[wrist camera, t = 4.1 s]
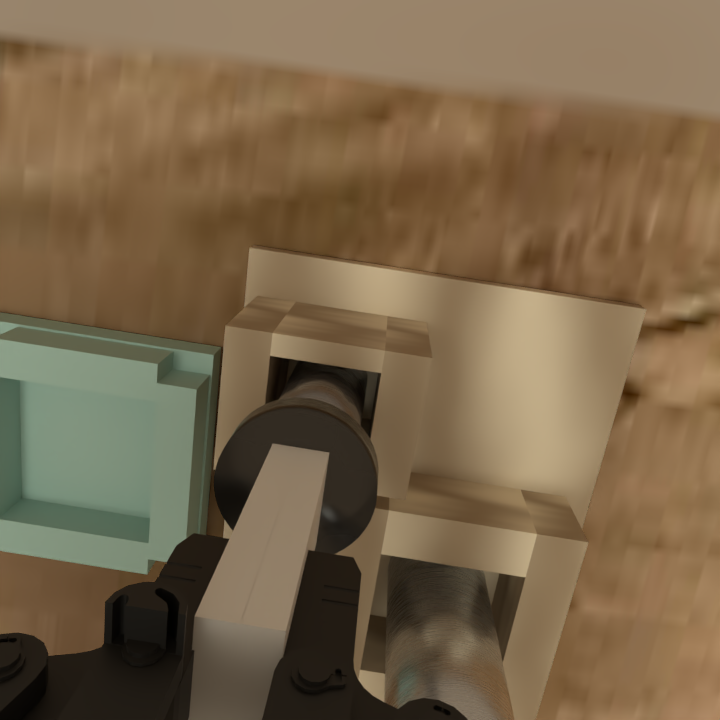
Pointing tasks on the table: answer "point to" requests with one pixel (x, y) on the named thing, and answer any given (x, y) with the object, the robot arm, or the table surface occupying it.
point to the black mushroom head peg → (315, 432)
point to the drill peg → (443, 640)
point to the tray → (103, 442)
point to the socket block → (450, 428)
